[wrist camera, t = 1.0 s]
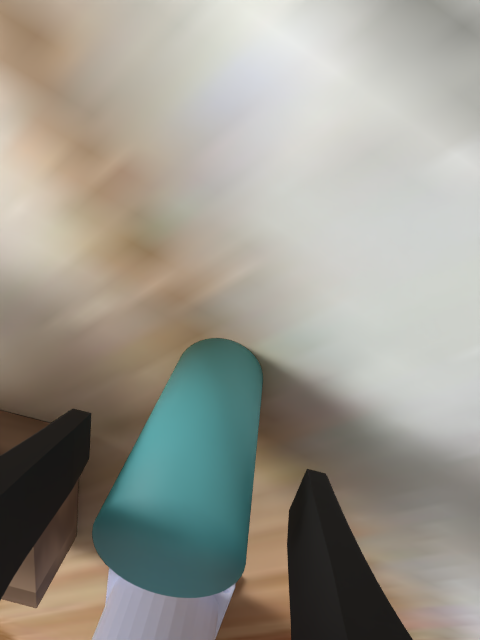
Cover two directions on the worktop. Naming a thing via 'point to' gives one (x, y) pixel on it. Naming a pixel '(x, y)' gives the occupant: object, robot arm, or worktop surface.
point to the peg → (188, 479)
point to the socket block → (56, 540)
